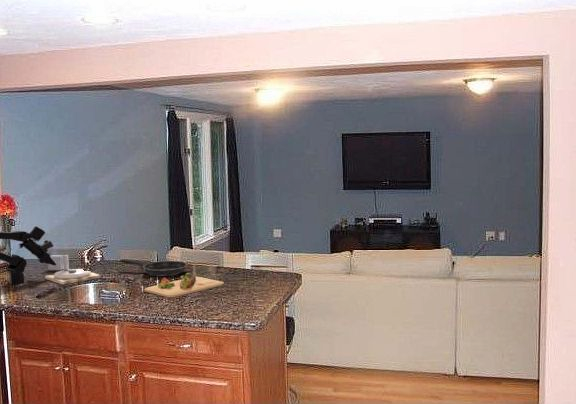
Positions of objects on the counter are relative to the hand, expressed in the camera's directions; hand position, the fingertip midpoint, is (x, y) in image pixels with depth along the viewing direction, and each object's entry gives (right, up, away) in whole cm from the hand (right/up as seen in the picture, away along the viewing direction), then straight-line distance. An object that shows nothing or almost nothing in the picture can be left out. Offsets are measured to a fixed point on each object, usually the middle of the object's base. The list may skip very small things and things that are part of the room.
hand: (55, 264), depth 334 cm
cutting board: (+79, -9, -31) cm, 85 cm away
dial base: (+11, -7, -3) cm, 13 cm away
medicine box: (-8, -6, +22) cm, 24 cm away
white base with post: (+11, -5, -3) cm, 12 cm away
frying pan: (+55, -6, +7) cm, 55 cm away
